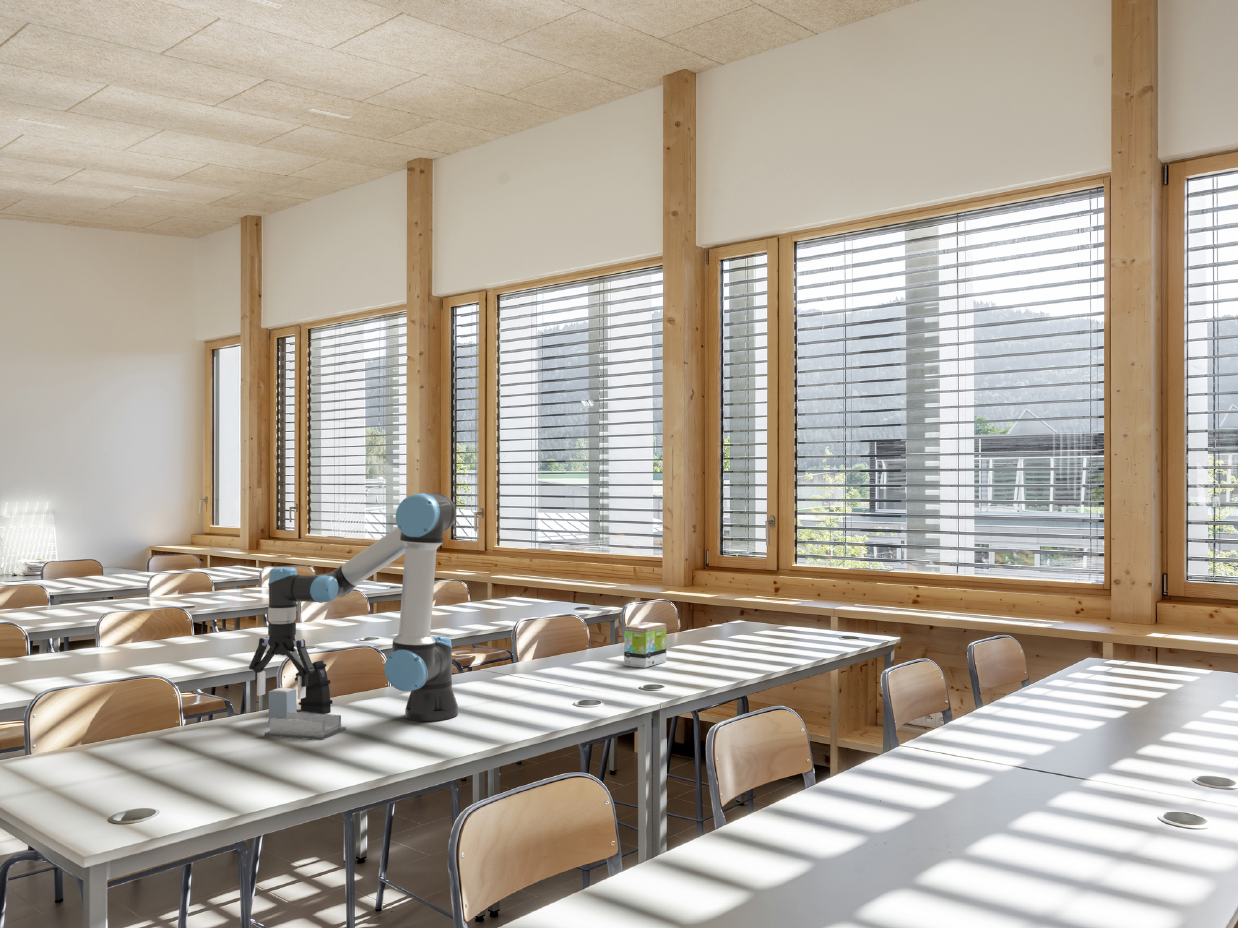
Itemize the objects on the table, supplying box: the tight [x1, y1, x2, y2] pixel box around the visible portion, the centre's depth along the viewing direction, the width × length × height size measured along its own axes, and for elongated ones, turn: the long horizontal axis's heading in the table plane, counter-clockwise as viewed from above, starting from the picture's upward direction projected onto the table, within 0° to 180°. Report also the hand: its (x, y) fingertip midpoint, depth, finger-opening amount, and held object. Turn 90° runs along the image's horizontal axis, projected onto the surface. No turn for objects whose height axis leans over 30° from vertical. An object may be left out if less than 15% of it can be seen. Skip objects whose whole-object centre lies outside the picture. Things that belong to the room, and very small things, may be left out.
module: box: [268, 687, 298, 724], centre depth 275 cm, size 6×4×9 cm
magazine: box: [294, 660, 333, 714], centre depth 288 cm, size 4×13×15 cm, turn 54°
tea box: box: [623, 621, 667, 669], centre depth 358 cm, size 15×10×15 cm, turn 147°
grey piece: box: [264, 711, 347, 741], centre depth 262 cm, size 18×11×4 cm, turn 73°
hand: (281, 696), depth 275 cm, fingers open, 13 cm apart
